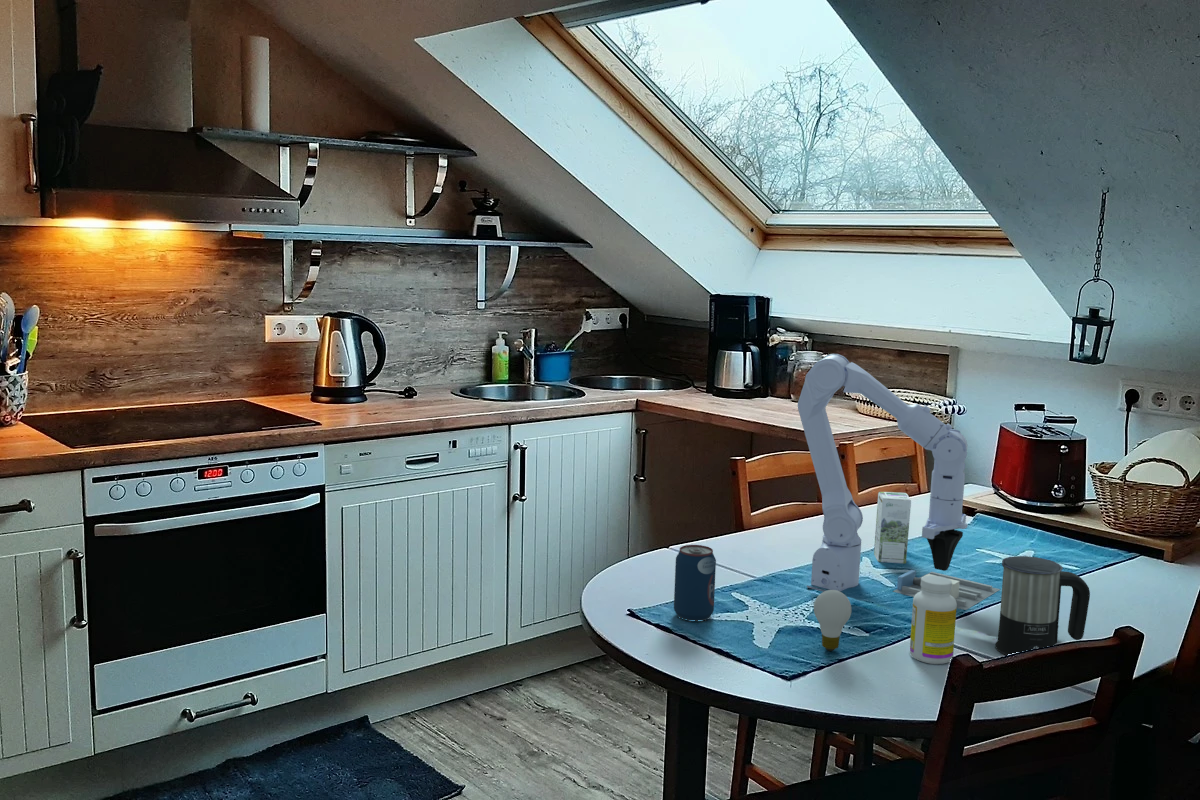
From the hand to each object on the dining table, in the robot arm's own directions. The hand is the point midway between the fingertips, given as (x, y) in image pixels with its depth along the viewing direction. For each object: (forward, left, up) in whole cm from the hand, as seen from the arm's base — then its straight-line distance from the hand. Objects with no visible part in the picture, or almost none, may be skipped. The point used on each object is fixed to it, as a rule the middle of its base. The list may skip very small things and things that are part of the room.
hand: (941, 569), depth 199 cm
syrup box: (+14, +17, -6) cm, 23 cm away
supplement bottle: (-28, -11, -6) cm, 30 cm away
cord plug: (0, 0, -5) cm, 5 cm away
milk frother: (-10, -19, -6) cm, 23 cm away
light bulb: (-37, +2, -6) cm, 37 cm away
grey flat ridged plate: (+3, 0, -6) cm, 7 cm away
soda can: (-40, +27, -6) cm, 48 cm away
